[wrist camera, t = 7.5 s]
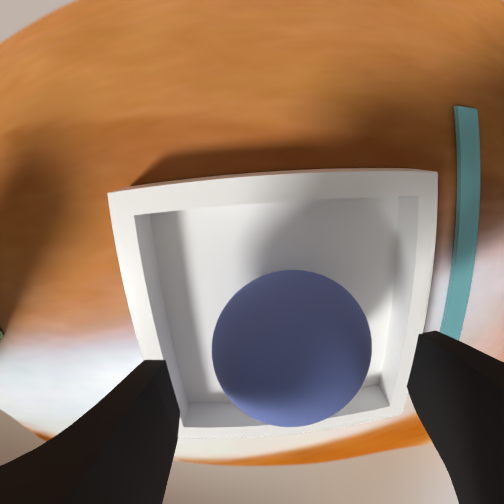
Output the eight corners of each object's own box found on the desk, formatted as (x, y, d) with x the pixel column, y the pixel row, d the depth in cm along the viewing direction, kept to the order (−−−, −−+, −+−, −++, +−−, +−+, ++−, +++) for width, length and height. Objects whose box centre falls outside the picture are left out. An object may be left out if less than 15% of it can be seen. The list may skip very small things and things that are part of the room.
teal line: (434, 407, 15) (436, 410, 14) (417, 412, 15) (419, 415, 14) (473, 109, 10) (477, 109, 10) (453, 106, 10) (457, 105, 10)
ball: (370, 287, 12) (431, 360, 7) (300, 379, 13) (321, 470, 8) (259, 224, 11) (271, 278, 6) (196, 334, 12) (173, 426, 7)
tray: (410, 168, 11) (437, 171, 9) (388, 388, 14) (402, 413, 12) (129, 186, 11) (107, 192, 9) (177, 408, 14) (170, 437, 12)
